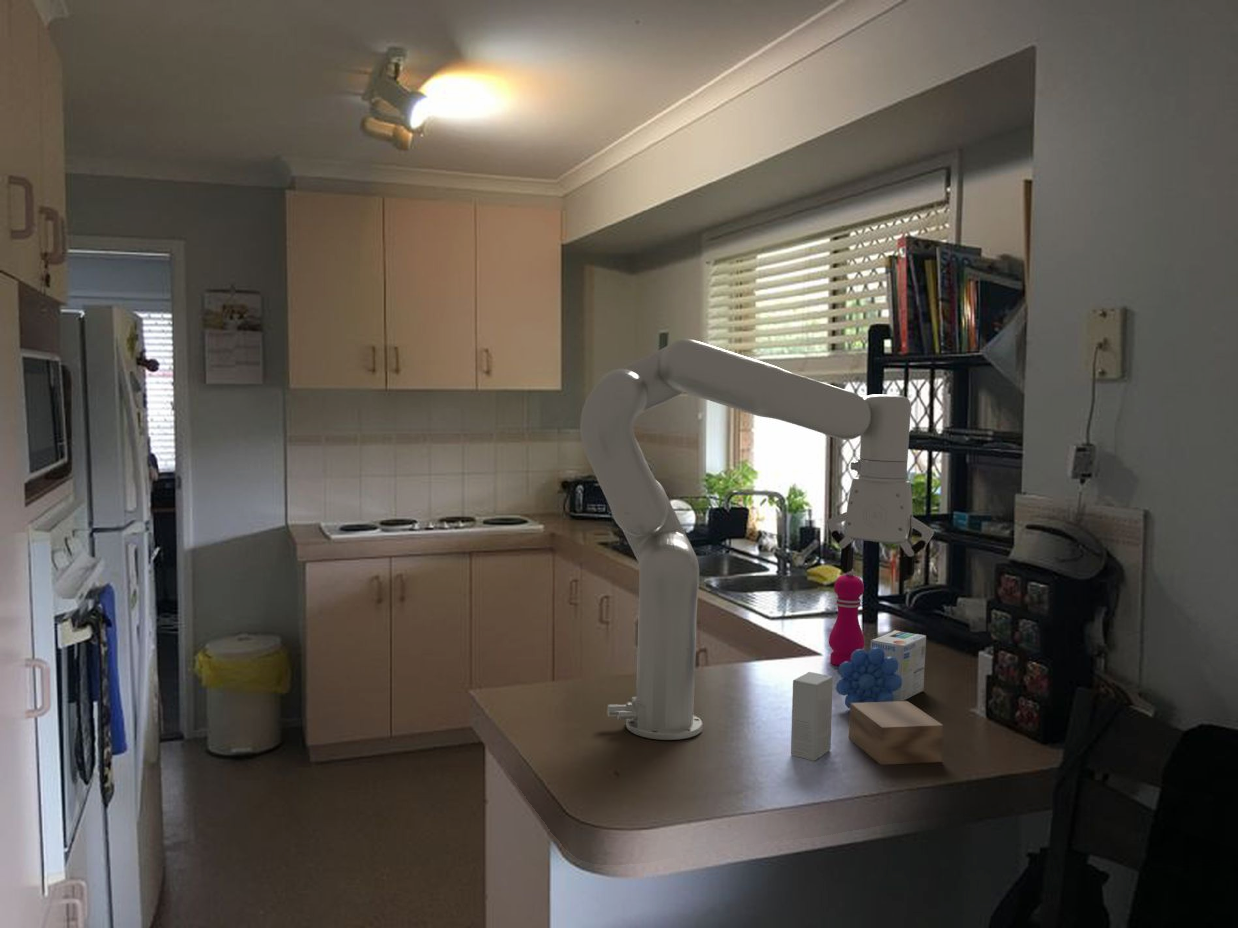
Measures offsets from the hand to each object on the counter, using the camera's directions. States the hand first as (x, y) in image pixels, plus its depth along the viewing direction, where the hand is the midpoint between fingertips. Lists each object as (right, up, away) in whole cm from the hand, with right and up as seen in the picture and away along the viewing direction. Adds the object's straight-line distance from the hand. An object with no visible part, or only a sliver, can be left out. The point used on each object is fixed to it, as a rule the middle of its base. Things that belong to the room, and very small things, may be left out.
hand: (876, 575), depth 169 cm
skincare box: (-12, -27, -8) cm, 31 cm away
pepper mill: (+5, -23, +45) cm, 51 cm away
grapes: (+2, -26, +13) cm, 29 cm away
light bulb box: (+10, -25, +25) cm, 37 cm away
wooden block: (+1, -27, -5) cm, 28 cm away
